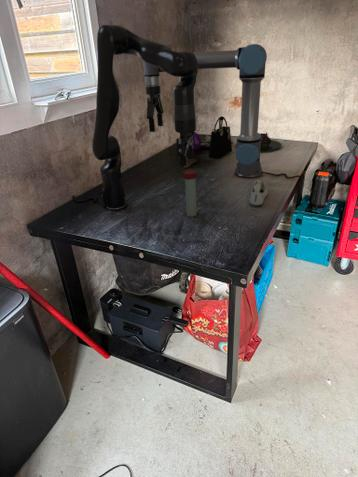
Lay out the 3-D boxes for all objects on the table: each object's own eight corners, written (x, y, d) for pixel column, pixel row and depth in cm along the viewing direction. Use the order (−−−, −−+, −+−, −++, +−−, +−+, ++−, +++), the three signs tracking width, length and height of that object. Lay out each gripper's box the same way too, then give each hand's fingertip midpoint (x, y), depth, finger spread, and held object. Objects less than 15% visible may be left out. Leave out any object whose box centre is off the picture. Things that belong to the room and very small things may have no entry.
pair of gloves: (198, 151, 236) (198, 144, 233) (184, 143, 256) (183, 137, 254) (234, 145, 246) (235, 137, 243) (218, 138, 266) (218, 131, 263)
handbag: (220, 159, 217) (220, 119, 204) (207, 157, 221) (207, 119, 208) (232, 151, 231) (233, 113, 219) (221, 150, 236) (221, 113, 223)
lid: (182, 176, 141) (182, 170, 140) (194, 174, 142) (194, 169, 140) (185, 180, 136) (185, 174, 135) (197, 178, 137) (197, 173, 136)
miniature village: (250, 138, 260) (251, 126, 256) (289, 145, 237) (291, 132, 233) (223, 147, 242) (223, 134, 237) (263, 155, 219) (264, 141, 215)
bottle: (185, 213, 149) (183, 172, 140) (195, 211, 150) (193, 170, 140) (188, 217, 145) (186, 175, 136) (197, 215, 146) (196, 174, 137)
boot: (199, 157, 223) (198, 126, 213) (193, 168, 203) (192, 135, 193) (186, 157, 225) (185, 126, 215) (179, 168, 205) (177, 135, 195)
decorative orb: (204, 151, 235) (204, 129, 228) (194, 156, 225) (193, 134, 217) (186, 149, 243) (186, 128, 235) (175, 154, 232) (174, 132, 224)
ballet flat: (269, 188, 169) (270, 173, 165) (265, 208, 149) (266, 191, 145) (252, 187, 171) (253, 172, 167) (246, 206, 151) (247, 190, 147)
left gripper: (181, 113, 122) (183, 156, 130) (167, 121, 110) (171, 168, 118) (200, 113, 119) (201, 157, 127) (189, 121, 108) (190, 169, 116)
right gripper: (153, 83, 178) (157, 124, 189) (137, 88, 157) (141, 134, 168) (167, 82, 176) (169, 123, 187) (151, 88, 156) (155, 134, 166)
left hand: (186, 162), depth 123 cm, fingers open, 8 cm apart
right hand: (156, 128), depth 177 cm, fingers open, 13 cm apart
